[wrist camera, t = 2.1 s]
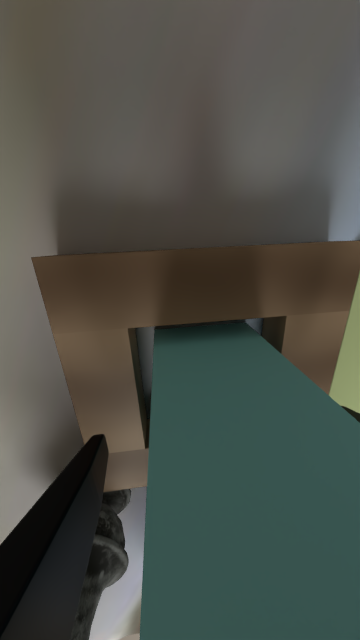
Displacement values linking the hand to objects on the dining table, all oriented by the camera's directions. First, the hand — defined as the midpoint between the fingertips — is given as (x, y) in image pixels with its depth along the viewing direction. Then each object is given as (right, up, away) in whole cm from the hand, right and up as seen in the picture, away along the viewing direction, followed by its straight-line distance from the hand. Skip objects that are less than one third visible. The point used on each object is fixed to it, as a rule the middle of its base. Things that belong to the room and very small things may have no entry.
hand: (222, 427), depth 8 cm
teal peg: (0, +2, +4) cm, 4 cm away
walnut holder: (0, +2, +4) cm, 4 cm away
